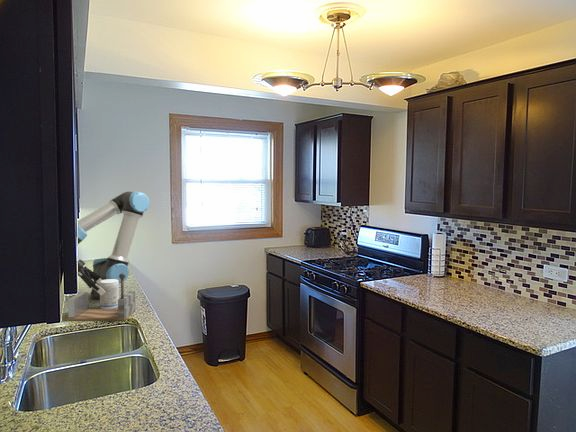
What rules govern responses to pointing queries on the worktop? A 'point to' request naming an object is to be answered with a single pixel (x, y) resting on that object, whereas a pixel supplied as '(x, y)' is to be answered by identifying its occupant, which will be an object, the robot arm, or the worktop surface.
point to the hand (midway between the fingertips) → (105, 290)
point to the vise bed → (121, 314)
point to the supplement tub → (109, 294)
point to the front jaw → (77, 304)
